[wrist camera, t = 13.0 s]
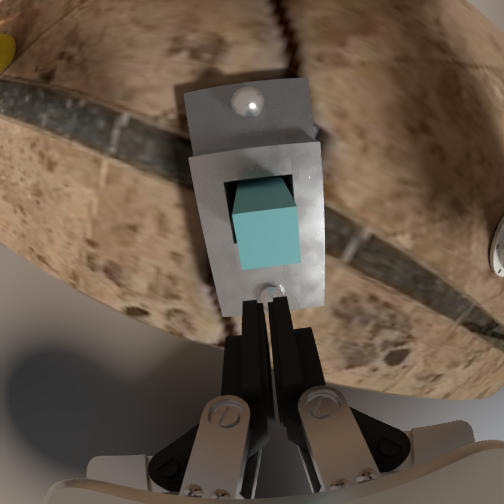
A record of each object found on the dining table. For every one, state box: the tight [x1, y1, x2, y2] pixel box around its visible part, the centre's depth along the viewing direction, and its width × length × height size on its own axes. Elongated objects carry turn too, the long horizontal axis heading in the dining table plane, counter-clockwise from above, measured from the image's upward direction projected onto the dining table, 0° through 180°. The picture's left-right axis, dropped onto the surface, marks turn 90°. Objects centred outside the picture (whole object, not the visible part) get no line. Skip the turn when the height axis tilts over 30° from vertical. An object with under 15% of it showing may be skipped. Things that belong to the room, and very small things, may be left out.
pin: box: [232, 175, 301, 270], centre depth 22 cm, size 4×4×10 cm
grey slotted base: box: [183, 78, 325, 317], centre depth 24 cm, size 11×22×5 cm, turn 7°
